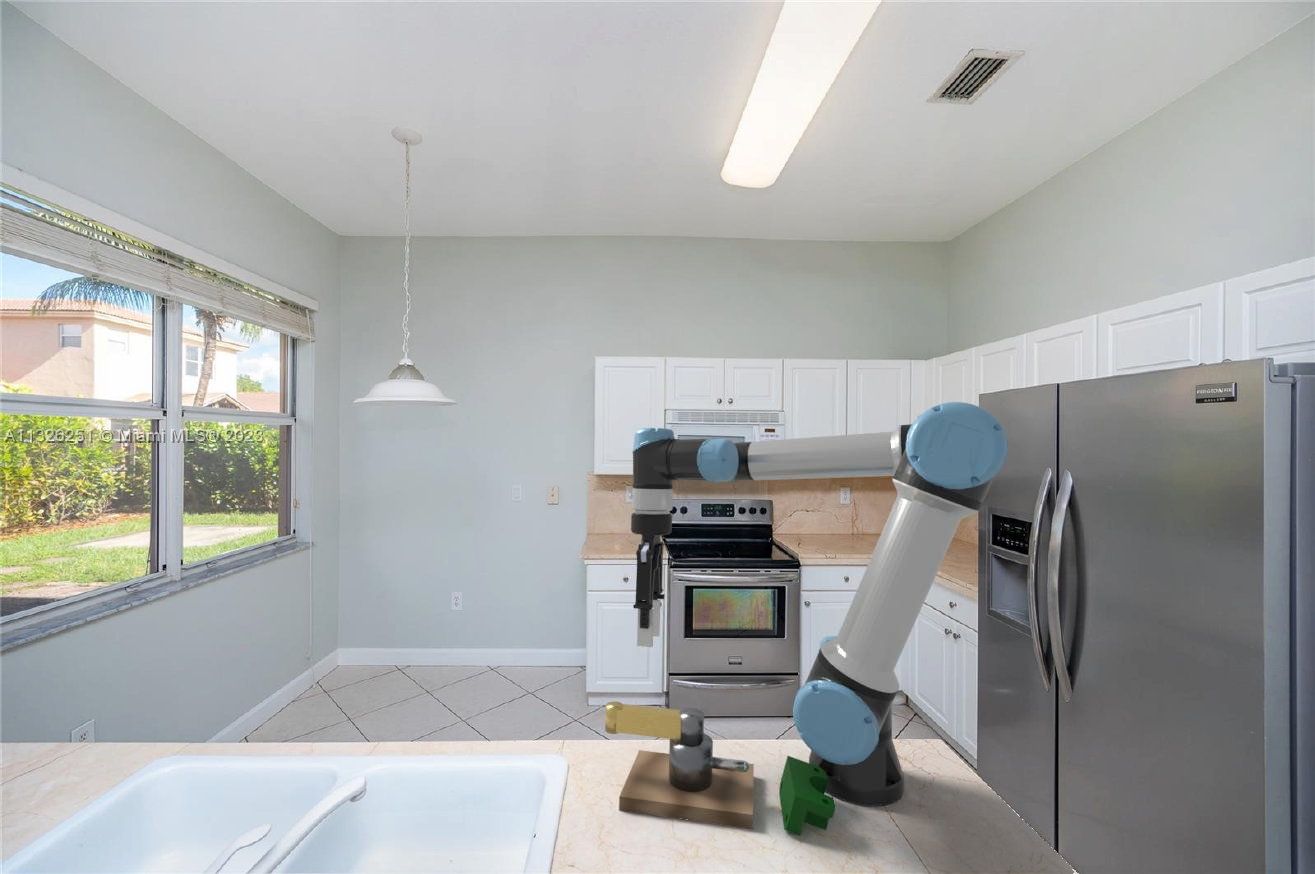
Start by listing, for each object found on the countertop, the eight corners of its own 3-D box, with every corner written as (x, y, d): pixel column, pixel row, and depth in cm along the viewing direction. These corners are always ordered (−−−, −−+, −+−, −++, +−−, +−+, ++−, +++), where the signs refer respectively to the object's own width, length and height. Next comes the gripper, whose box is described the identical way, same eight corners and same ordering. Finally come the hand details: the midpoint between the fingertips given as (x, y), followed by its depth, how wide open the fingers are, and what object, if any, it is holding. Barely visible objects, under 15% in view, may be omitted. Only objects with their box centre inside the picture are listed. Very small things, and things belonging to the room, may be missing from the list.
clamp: (818, 865, 77) (838, 823, 73) (777, 849, 78) (795, 807, 74) (815, 788, 88) (832, 749, 84) (779, 775, 89) (795, 736, 85)
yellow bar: (704, 734, 88) (705, 709, 88) (702, 746, 84) (702, 720, 85) (608, 723, 91) (609, 699, 91) (602, 734, 87) (602, 709, 88)
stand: (753, 776, 91) (753, 764, 91) (752, 829, 77) (753, 814, 77) (638, 761, 95) (639, 750, 95) (618, 810, 81) (619, 796, 81)
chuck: (749, 774, 88) (749, 737, 88) (748, 800, 81) (749, 758, 81) (672, 765, 90) (673, 728, 91) (665, 788, 83) (666, 748, 84)
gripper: (642, 508, 108) (639, 625, 107) (619, 514, 90) (615, 655, 88) (679, 509, 107) (676, 627, 105) (663, 516, 89) (659, 659, 87)
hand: (648, 640), depth 97 cm, fingers open, 6 cm apart
